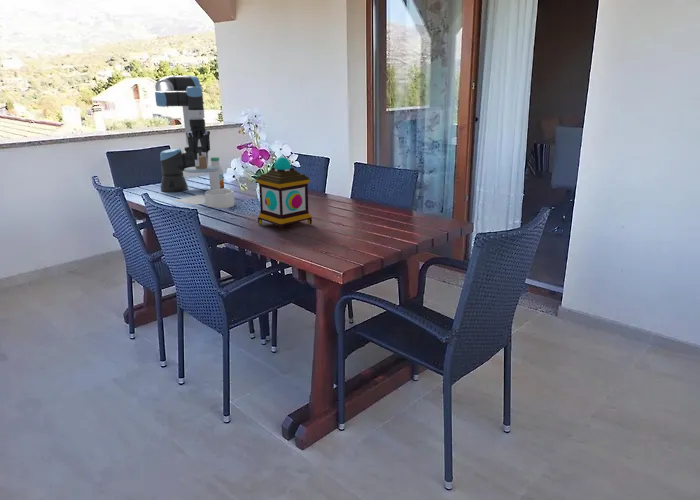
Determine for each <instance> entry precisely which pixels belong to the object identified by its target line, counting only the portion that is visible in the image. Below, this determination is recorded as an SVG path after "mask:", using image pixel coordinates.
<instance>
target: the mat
mask: <svg viewBox="0 0 700 500" xmlns="http://www.w3.org/2000/svg"><path fill="white" fill-rule="evenodd" d="M173 201H174V202H178V203H184V204H188V205H189V204H190V205H195V206H197V205H202V204H206V202H205V194H196V195H191V196H186V197H184V198H179V199H174V200H173Z"/></svg>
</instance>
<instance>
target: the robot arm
mask: <svg viewBox="0 0 700 500" xmlns="http://www.w3.org/2000/svg"><path fill="white" fill-rule="evenodd" d="M154 96H155V103H156V106H157V107H162V108H165V107H182V114H183V123H184V133H185V141H186V142H185V143H186V145H185V146H184V150H182V149H181V148H170V149H166V150H162V151H161V152H160V153H159V154H160V159H159V160H160V166H161V173H162V174H161V176H162V178H161V181H160V182H161V183H160V191H162V192H165V193H166V192H169V193H172V192H173V193H174V192H181V191H182V192H183V191H186V190H188V189H189V187H188V183H187V181H186V179H185V176H184V172H185V171H184V169H185V168H189V167H196V166H200V162H199V156H205V157H206V161H207V166H209V151H211V143H210V141H211V139H210V134H211V131H210V130H206V128H205V127H206V120H205V119H204V118H205V109H204V93H203V88H202V87H201V82H200V80H199V77H197V76H196V75H166V76H164V77H161V78H160V79H158V80H157V81H156V83H155V92H154Z"/></svg>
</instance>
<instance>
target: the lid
mask: <svg viewBox="0 0 700 500" xmlns="http://www.w3.org/2000/svg"><path fill="white" fill-rule="evenodd" d="M199 162H200V166H196V167H189V168H185V169H184V171H183V172H185V173H188V174H189V173H190V174H192V173H193V174H202V173H203V174H205V173H206V174H207V173H209V172H214V171H218V170H219V169H218V167H214V166H211V165H208V166H207V161H206V157H205V156H199Z"/></svg>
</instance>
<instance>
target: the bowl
mask: <svg viewBox="0 0 700 500" xmlns="http://www.w3.org/2000/svg"><path fill="white" fill-rule="evenodd" d="M234 192H235V190H234V189H229V188H224V189H214V190H206V191H205V193H204V195H205V202H206V203H205V207H210V208H213V209H218V208H220V209H229V208H232V207H234V206H235V193H234Z"/></svg>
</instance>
